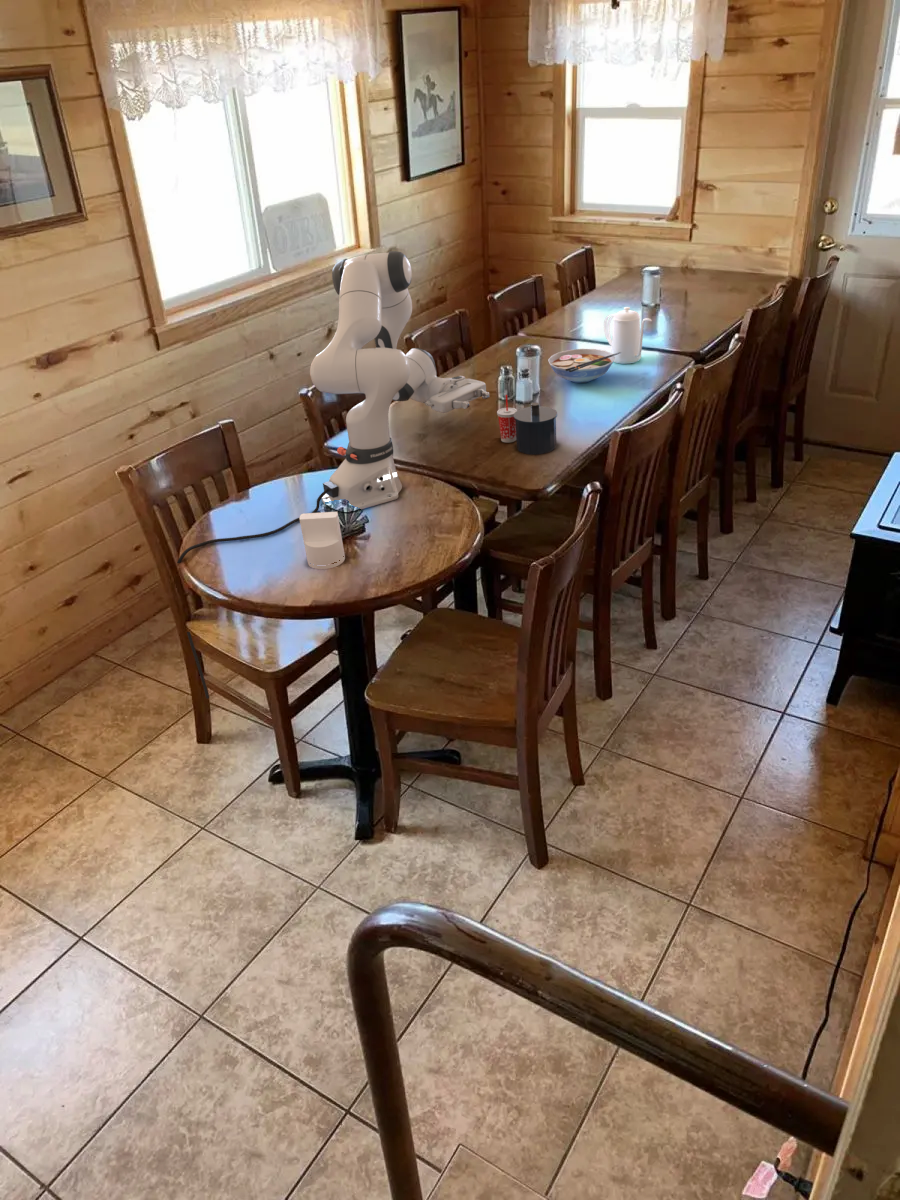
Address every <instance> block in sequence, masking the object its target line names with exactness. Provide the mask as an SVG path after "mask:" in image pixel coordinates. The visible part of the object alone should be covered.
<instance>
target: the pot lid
mask: <svg viewBox="0 0 900 1200" xmlns="http://www.w3.org/2000/svg"><path fill="white" fill-rule="evenodd" d="M517 410H518V411H516V412H515V413H514V419H515V420H516V421H518V422H520V423H525V424H540V423H546V422H549V421H552V420H554V419H555V418H556V419H557V417H558V411H557V410H556V409H555V408H552V407H549V406H545V405H543V406H541V405H540V403H539V402H531V403H530V406H527V407H523V408H520V409H517Z"/></svg>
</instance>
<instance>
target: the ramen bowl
mask: <svg viewBox="0 0 900 1200" xmlns="http://www.w3.org/2000/svg"><path fill="white" fill-rule="evenodd" d="M617 354H620V352H619V353H616V354H612V353H611V351H607V350H605V349H597V348H575V349H567V350H563V351H559V352H557V353H554V354H552V355H551V356H550V357H549V358H548V359H547V361H548V363H549V365H550V367H551V369H552V370H553V372H554V373H555V374H556V375H557V376H558V377H559V378H561V379H564V380H567V381H569V382H573V383H575V384H585V383H589V382H591V381H594V380H596V379H599V378H600V377H602V376H604V375H606V373H608V371H609V370H610V368H611V367H612V365H613V364H614V363H615V362H614V359H615V355H617Z"/></svg>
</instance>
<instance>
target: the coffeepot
mask: <svg viewBox="0 0 900 1200" xmlns="http://www.w3.org/2000/svg"><path fill="white" fill-rule="evenodd" d="M612 319H613V324H612V335H611V332H610V328H611V327H610V326H611V321H612ZM640 320H641V316H640V314H639V312H637V311H636V310H631V307H630V306H625V307H623V310H619V311H617V312H616V313H612V314H609V315H608V314H607V316H606V317H605V318H604V321H603V332H604V336H605V339H606V341H607V343H608V344H609V345H610V347H611V348H610V353H612V354H616V353H619V352H620V354H617V355H615V359H614V362H613V363H616V364H620V365H621V364H622V365H629V364H635V363H637V362H639V361H640V360H641V358H642V350H643V341H644V340H643V338H644V328H645V327H644V326H645V322H653V320H652V318H649V317H645V318H643V319H642V321H641V322H640Z"/></svg>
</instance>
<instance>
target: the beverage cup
mask: <svg viewBox="0 0 900 1200" xmlns="http://www.w3.org/2000/svg"><path fill="white" fill-rule="evenodd" d="M518 410H519V409H517V408H515V407H509V403H508V394H505V407H502V408H499V409H498V410H497V411H496V415H497V417H498V425H499V435H500V441H501V442H502V443H506V444H507V443H509V444H511V443H514V442H516V421H515V419H514V413H515V412H516V411H518Z"/></svg>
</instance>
